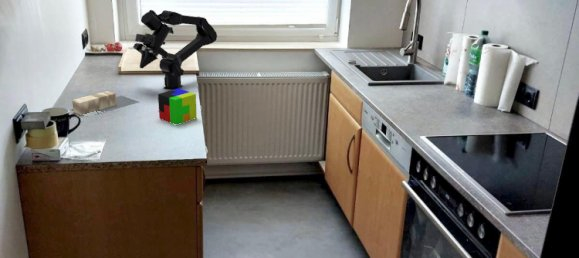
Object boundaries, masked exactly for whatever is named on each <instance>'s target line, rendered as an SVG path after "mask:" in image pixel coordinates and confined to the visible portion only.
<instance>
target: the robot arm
mask: <svg viewBox="0 0 579 258" xmlns="http://www.w3.org/2000/svg"><path fill="white" fill-rule="evenodd" d="M140 21H141V23H142V24H143V25H144V26H145V27H147V28H148V29H149V30H150V31H151V32H152V31H153V32H152V33H151V34H150V33H148V32H147V33H146V32H145V34H141V33H136V35H135V39H134V45H133V46H132V48H133V49H134V50H136V51H137V52H138V53H140V55H141V58H140V63H139V68H140V69H144V68H145V67H147V66H148V65H149V64H151V63H153V62H155V61H156V60H159V58H158V56H159V55H160V56H161V59H160V60H159V65H158V66H159V69H160V71H161V73H162V74H164V78H163V79H164V80H163V81H164V82H163V83H164V86H163V89H165V90H166V89H167V90H174V89H178V88H179V89H182V88H183V87H184V85H183V84H182V77H181V76H183V75H184V71H185V70H184V69H183V68H182V64H183V63H184V61H186V60H187V59H189V57H191V56H192V55H194V54H195V53H196V52H198V51H199V50H200V49H201V48H203V47H204V46H205V47H206V46H209V45H211V44H213V43H215V42H216V41H217V38H218V35H217V31H216V30H215V28H214V27H213V26H212V25H211V24H210V22H209V21H208V19H207V18H205V17H203V16H193V15H185V14H181V13H179V12H176V11H173V10H166V9H165V10H163V11H162V12H161V13H159V14H157V13H156V11H155V10H154V9H153V10H152V9H150V10H148V11H147V12H145V13H144V14H143V15H142V16H141V18H140ZM168 25H169V26H168ZM180 25H192V26H195V30H196V32H197V33H196V36H195V38H193V40H191V41H190V42H189V43H187V44H186V45H185V46H184V47H182V48H181V49H179V50H178V51H177V52H176V53H170V52H168V51H166V50H165V49H164V48H163V47H162V46H164V45H166V42H165V40H166V39H167V37H168V35H169V34H170V35H171V34H172V35H173V34H174V30H173V27H172V26H180ZM135 42H136V43H135ZM138 42H139V43H138Z"/></svg>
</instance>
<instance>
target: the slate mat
mask: <svg viewBox="0 0 579 258" xmlns="http://www.w3.org/2000/svg"><path fill="white" fill-rule="evenodd" d="M137 103H139V101H138V100H136V99H132V98H130V97H126V96H123V95H119V96H116V104H117V105H115V106H112V107H108V108H105V109H102V110H98V111H101V112H103V113H108V112H110V111H114V110H116V109H120V108H124V107H127V106H131V105H135V104H137ZM70 111H71V112H74V111H73V108H72V109H70ZM104 111H105V112H104ZM107 111H108V112H107ZM96 112H97V111H96ZM97 113H98V112H97Z"/></svg>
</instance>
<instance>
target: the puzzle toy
mask: <svg viewBox="0 0 579 258" xmlns="http://www.w3.org/2000/svg"><path fill="white" fill-rule="evenodd" d="M157 100H158V113H159V114H158V115H159V116H158V117H159V118H160V119H159V120H162V119H163V120H162V121H164V120H166V121H165V122H167V121H168V122H167V123H169V122H171V123H170V124H172V123H174V124H179V123H182V122H185V123H187V122H186V121H188V122H190V121H189V120H191V121H193V120H195V119H194V118H196V119H197V116H198V115H197V94H196V93H193V92H191V91H188V90H184V89H182V88H178V89H174V90H173V89H170V90H168V91H164V92H160V93H158V94H157ZM192 119H193V120H192ZM174 124H173V125H174ZM182 124H183V123H182ZM179 125H180V124H179Z"/></svg>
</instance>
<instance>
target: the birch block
mask: <svg viewBox="0 0 579 258" xmlns="http://www.w3.org/2000/svg"><path fill="white" fill-rule="evenodd" d="M116 97H117V94H116V92H112V91H110V90H106V91H102V92H97V93H93V94H91V95H87V96H83V97H78V98H74V99H72V109H73V111H72V112H73V113H75V114H77V115H80V116H84V115H83V114H87V113H90V112H94V111H98V110H102V109H105V108H108V107H112V106H115V105H117V104H116Z"/></svg>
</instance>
